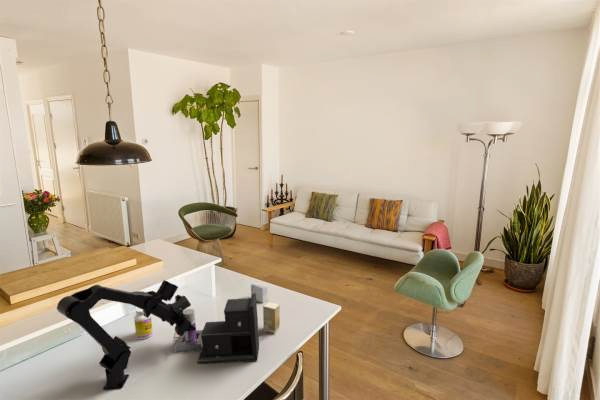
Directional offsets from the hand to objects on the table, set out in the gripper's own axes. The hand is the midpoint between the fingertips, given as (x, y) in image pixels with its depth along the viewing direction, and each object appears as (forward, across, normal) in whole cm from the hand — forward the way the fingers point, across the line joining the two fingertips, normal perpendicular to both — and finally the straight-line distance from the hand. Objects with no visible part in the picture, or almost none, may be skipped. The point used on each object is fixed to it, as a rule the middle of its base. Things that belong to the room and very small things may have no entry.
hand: (193, 326), depth 143 cm
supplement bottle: (-6, +19, +17) cm, 26 cm away
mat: (+4, +10, +6) cm, 13 cm away
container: (+4, 0, +6) cm, 8 cm away
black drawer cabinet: (+12, -16, -1) cm, 20 cm away
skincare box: (+28, -12, -16) cm, 34 cm away
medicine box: (+34, +16, -23) cm, 44 cm away
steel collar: (+4, 0, +6) cm, 8 cm away
